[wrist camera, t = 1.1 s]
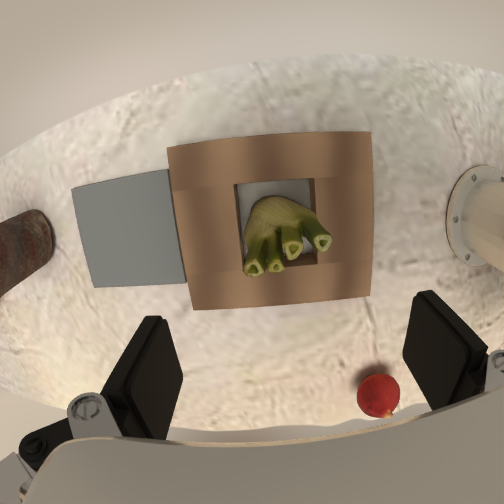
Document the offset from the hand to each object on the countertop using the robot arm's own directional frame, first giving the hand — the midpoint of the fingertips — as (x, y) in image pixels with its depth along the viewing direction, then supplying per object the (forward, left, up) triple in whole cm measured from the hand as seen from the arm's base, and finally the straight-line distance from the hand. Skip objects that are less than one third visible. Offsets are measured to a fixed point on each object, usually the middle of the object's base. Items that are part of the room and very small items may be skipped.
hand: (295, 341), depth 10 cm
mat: (+16, 0, -20) cm, 25 cm away
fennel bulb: (0, 0, -20) cm, 20 cm away
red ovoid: (-12, +23, -20) cm, 33 cm away
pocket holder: (0, 0, -20) cm, 20 cm away
